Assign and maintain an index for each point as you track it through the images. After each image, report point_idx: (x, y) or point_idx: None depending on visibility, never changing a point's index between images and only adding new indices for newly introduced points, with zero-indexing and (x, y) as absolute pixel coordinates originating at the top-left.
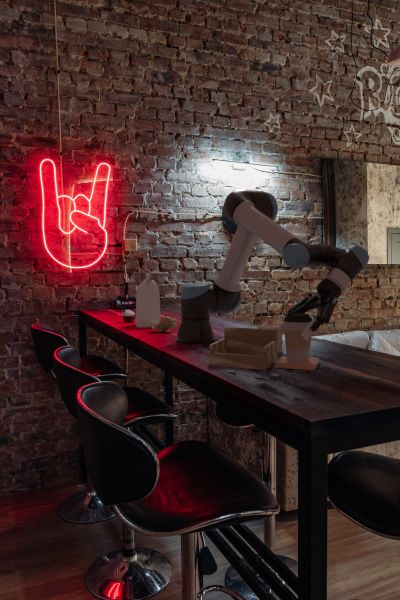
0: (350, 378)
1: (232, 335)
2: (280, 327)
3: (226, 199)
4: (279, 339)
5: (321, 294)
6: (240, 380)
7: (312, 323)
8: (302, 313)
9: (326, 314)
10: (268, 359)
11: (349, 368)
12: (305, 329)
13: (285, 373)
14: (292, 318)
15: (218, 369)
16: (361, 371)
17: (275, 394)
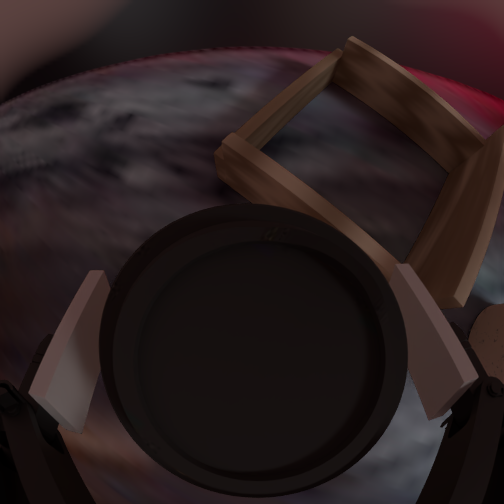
0: (26, 358)
1: (486, 153)
2: (403, 279)
3: None
4: (498, 372)
5: None
6: (134, 80)
7: (47, 362)
8: (319, 463)
9: None
10: (258, 195)
11: (137, 462)
12: (79, 303)
13: (140, 213)
14: (176, 240)
15: (276, 73)
16: (90, 457)
17: (21, 117)
